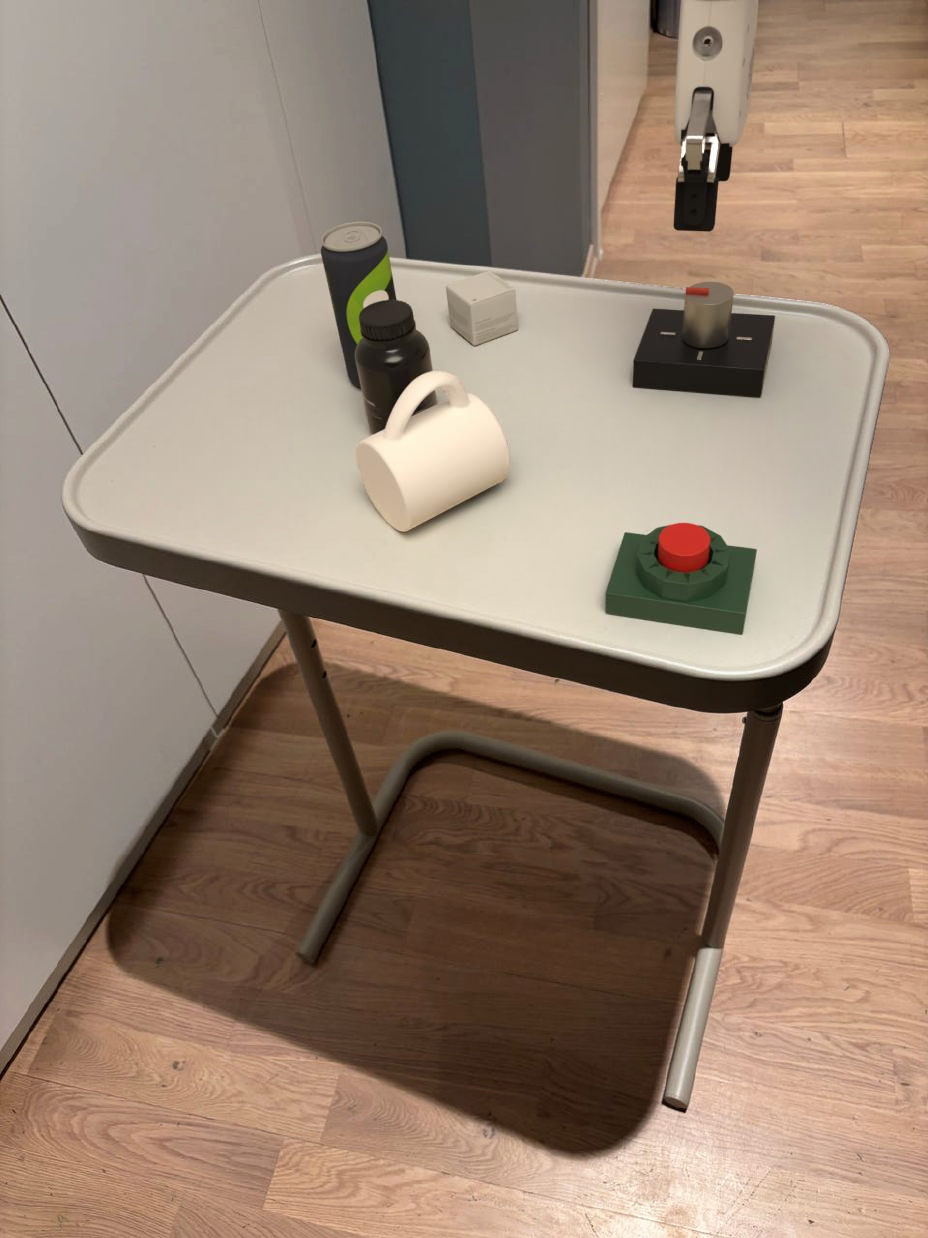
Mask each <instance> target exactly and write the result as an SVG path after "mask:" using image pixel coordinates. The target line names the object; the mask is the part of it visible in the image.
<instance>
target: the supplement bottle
mask: <svg viewBox="0 0 928 1238" xmlns="http://www.w3.org/2000/svg"><path fill="white" fill-rule="evenodd" d="M359 323H360V328H361V329H360V332H361V337H362V339H361V340H360V342H359V343H358V345H357V347H356V350H355V360H356V365H357V370H358V375H359V380H360V385H361V388H360V390H361V394H362V399H363V402H364V403H363V404H364V408H365V409H364V410H365V414H366V418H367V423H368V428H369V430H370V433H371V435H374V434H376V433H378V432H380V431H382V430H384V429H385V427H386V424H387V422H388V419H389V416H390V414H391V412H392V410H393V408H394V406H395V404H396V402H397V400H398V399H399V397H400V396H401V394H402V393H403V391H404V390H405V389H406V388H407V386H408V385H409V384H410V383H411V382H412V381H413V380H415V379H416V378H417V377H419V376H420V375H422V374H425V373H427V372H431V371H434V369H433V363H432V355H431V348H430V345H429V344H430V343H429V341H428V340H427V338H426V337H425V335H424V334H423V333H422V332H420V330H418V329H417V324H416V320H415V316H414V310H413V308H412V306H411V305H410V304H409V303H407V301H403V300H399V299H396V300H383V301H378V302H376V303H372V304H370V305H368V306H367V307H365V308H364V309H363V310H362V311H361V312H360V314H359ZM437 404H438V399H437V392H436V390H434V391H433V392H431V393H430V394H428V395H427V396H426V397H425V398H424V399H423V400H422V401H421V403H420V404H419V405H418V406H417V408H416V409H415V411H414V412H413V414H412V415H411V416H414V415H416V414H418V413H420V412H422V411H424V410H426V409H428V408H430V407H432V406H435V405H437Z"/></svg>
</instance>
